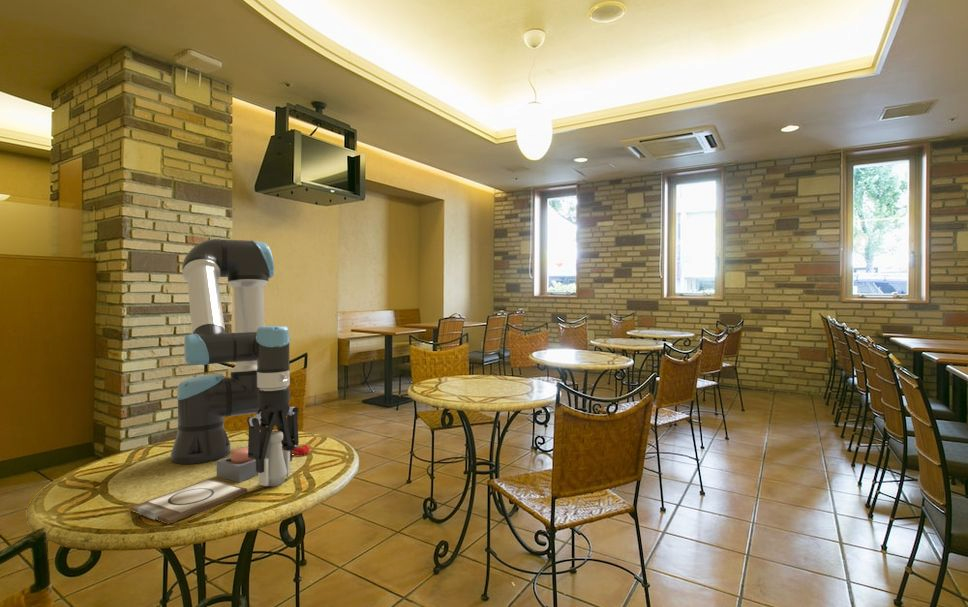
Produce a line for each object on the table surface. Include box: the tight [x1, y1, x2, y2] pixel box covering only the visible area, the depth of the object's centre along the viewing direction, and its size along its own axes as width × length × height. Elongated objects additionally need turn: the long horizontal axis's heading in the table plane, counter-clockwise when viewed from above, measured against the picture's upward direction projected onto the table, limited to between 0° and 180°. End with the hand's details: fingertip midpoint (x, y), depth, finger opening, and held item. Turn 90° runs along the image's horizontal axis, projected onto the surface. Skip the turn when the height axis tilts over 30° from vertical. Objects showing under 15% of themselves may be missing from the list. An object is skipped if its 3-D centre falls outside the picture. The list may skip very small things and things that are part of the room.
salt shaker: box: [265, 429, 287, 487], centre depth 121 cm, size 6×6×13 cm
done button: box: [230, 446, 254, 464], centre depth 128 cm, size 6×6×3 cm
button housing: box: [216, 456, 258, 483], centre depth 128 cm, size 9×9×4 cm
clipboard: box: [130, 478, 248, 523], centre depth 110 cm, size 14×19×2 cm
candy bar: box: [260, 442, 311, 456], centre depth 144 cm, size 16×4×3 cm, turn 83°
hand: (274, 479), depth 121 cm, fingers closed on salt shaker, 6 cm apart
